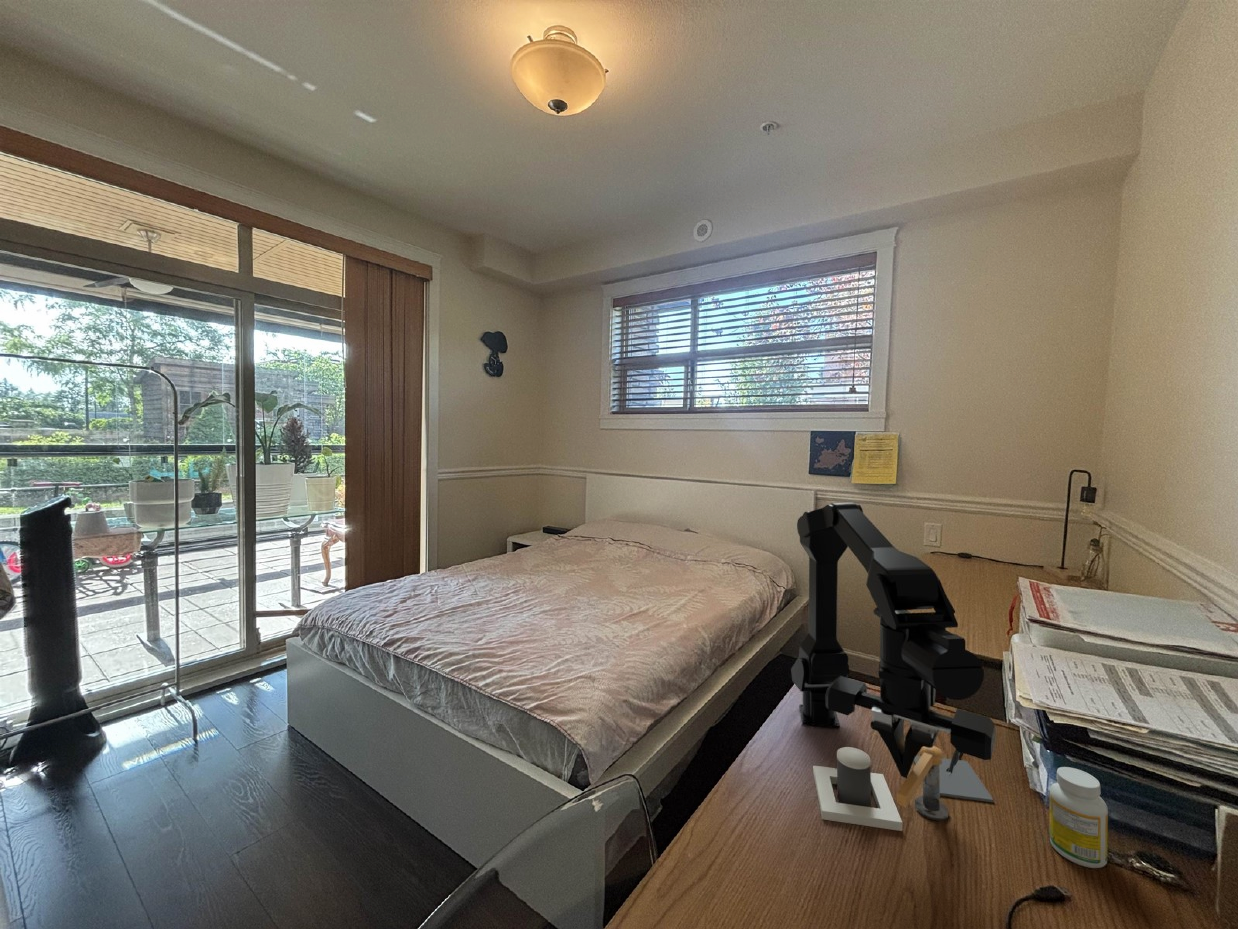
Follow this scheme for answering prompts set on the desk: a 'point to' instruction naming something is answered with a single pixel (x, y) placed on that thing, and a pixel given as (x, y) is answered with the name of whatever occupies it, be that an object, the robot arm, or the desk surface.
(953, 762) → the black pen
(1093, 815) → the supplement bottle
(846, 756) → the plug
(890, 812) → the socket block
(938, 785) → the post
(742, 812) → the desk surface
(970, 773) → the mat
